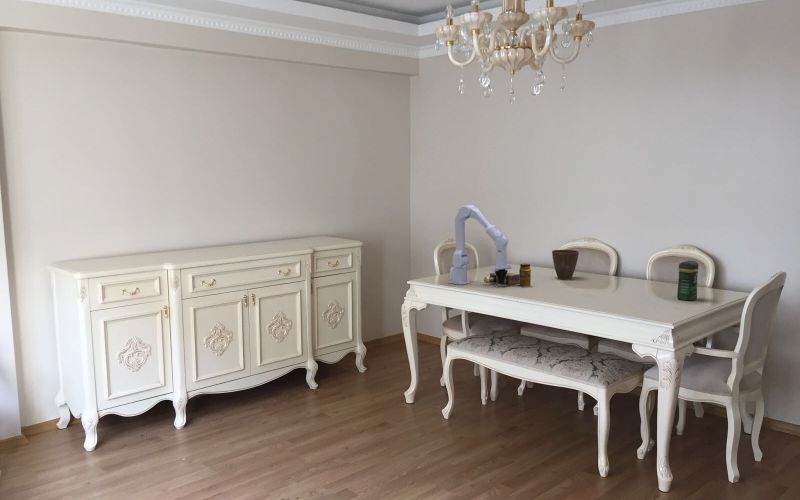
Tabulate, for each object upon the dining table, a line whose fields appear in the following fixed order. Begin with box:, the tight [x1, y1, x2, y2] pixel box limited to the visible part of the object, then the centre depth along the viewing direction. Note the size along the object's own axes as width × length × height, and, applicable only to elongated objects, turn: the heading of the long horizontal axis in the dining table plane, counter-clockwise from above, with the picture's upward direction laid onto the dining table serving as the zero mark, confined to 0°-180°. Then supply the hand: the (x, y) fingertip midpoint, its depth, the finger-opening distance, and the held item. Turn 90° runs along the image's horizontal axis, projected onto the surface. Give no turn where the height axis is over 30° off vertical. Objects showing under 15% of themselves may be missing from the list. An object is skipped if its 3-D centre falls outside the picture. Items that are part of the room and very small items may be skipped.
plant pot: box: [551, 249, 580, 281], centre depth 383 cm, size 15×15×16 cm
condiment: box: [512, 263, 533, 289], centre depth 360 cm, size 7×8×12 cm
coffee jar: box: [676, 260, 699, 302], centre depth 318 cm, size 10×8×19 cm
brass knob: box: [483, 276, 496, 284], centre depth 367 cm, size 3×9×3 cm, turn 134°
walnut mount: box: [489, 272, 519, 287], centre depth 368 cm, size 14×8×6 cm, turn 44°
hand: (501, 283), depth 360 cm, fingers closed
